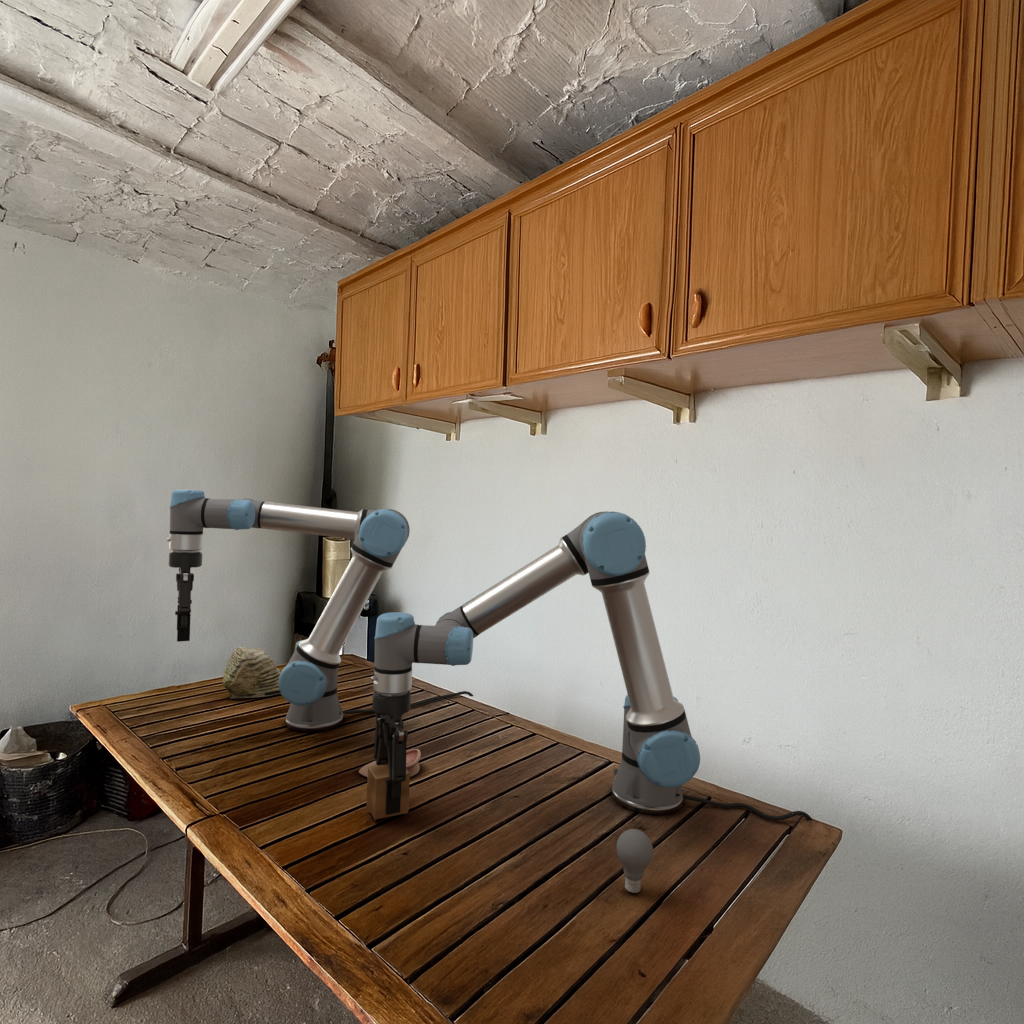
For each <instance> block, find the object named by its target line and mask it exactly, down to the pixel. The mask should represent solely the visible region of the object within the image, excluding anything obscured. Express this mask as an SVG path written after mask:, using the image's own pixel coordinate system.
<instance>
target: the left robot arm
mask: <svg viewBox="0 0 1024 1024" xmlns="http://www.w3.org/2000/svg"><path fill="white" fill-rule="evenodd" d="M170 495H171V496H170V505H169V537H167V538H166V542H169V545H168V546H169V547H168V548H169V550H170V551H169V553H168V566H169V567H170V568H174V569H177V568H178V573H176V574H175V581H176V591H177V592H178V593H177V594H178V596H177V609H176V610H175V612H174V615H175V616H176V633H177V634H176V642H178V643H179V642H191V641H190V640H191V613H192V608H191V605H192V604H193V599H192V591H193V590H194V588H193V587H194V582H195V574H194V573H192V572H191V569H192V568H200V567H202V565H203V552H202V550H203V549H204V529H221V530H222V529H223V530H234V531H238V530H241V531H242V530H250V529H263V530H271V531H278V532H279V531H281V532H289V533H298V534H306V535H315V536H323V537H331V538H339V539H350V540H354V541H353V543H352V544H351V546H350V551H351V556H352V557H351V559H350V561H349V562H348V564H347V566H346V568H345V570H344V572H343V574H342V576H341V577H340V579H339V581H338V583H337V585H336V586H335V589H333V590H334V591H333V592H332V594H331V596H330V598H329V600H328V602H327V604H326V605H325V607H324V608H323V611H322V613H321V615H320V617H318V620H317V622H316V624H315V626H314V628H313V629H312V631H311V633H310V634H309V637H308V638H307V639H303V640H302V639H301V640H298V641H297V642H296V643H295V648H294V652H293V654H292V655H291V657H290V659H289V660H288V663H287V665H285V666H284V667H283V668H282V669H281V670H280V672H281V673H280V677H279V681H278V686H279V690H280V695H281V696H282V697H283V699H284V701H287V702H288V703H289V708H288V711H287V713H286V715H285V726H286V728H287V729H289V730H291V731H294V732H295V731H296V732H301V733H316V732H325V731H329V730H332V729H335V728H337V727H339V726H340V725H342V723H343V722H344V715H350V714H351V715H352V714H369V713H375V712H374V711H373V708H369V709H367V708H366V709H350V710H343V709H342V706H341V702H340V699H339V695H338V682H339V681H338V680H339V678H338V677H339V666H340V664H341V662H342V659H341V656H340V652H341V650H342V648H343V646H344V645H345V643H346V641H347V639H348V637H349V635H350V634H351V631H352V630H353V628H354V626H355V624H356V622H357V620H358V618H359V616H360V615H361V613H362V611H363V610H364V607H365V605H366V604H367V602H368V600H369V598H370V596H371V595H372V592H373V591H374V589H375V587H376V585H377V583H378V581H379V580H380V578H381V576H382V574H383V572H385V571H389V570H391V569H392V568H393V566H394V564H395V562H396V561H397V558H398V556H399V555H400V553H401V551H402V549H403V548H404V546H405V545H406V543H407V542H408V539H409V537H410V529H411V528H410V525H409V521H408V519H407V518H406V516H405V515H404V514H403V513H402V512H400V511H398V510H395V509H391V508H384V509H383V508H381V509H365V508H362V509H360V510H359V511H352V510H343V509H342V510H341V509H333V508H326V507H316V506H308V505H299V504H291V503H290V504H289V503H283V502H273V501H263V500H258V499H257V500H256V499H252V498H241V499H240V498H208V497H206V496H205V491H203V490H200V489H174V490H173V491H172V492H171V494H170ZM461 695H467V696H469V697H474V694H473V693H471V691H467V690H463V691H458V692H455V693H448V694H443V695H438V696H435V697H431V698H428V699H425V700H421V701H418V702H414V703H413V702H412V703H411V706H410V708H414V707H418V706H421V705H425V704H427V703H431V702H434V701H438V700H443V699H446V698H453V697H458V696H461Z"/></svg>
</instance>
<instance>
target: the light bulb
mask: <svg viewBox="0 0 1024 1024" xmlns="http://www.w3.org/2000/svg"><path fill="white" fill-rule="evenodd" d="M615 849H616V854H617V857H618V859H619V861H620V863H621V865H622V867H623V873H624V874H623V875H624V876H625V878H624V888H625V890H627V891H628V892H630V893H634V894H635V893H639V892H640V891H641V889H642V887H641V886H642V879H643V877H644V875H645V871H646V868H647V867H648V866H649V864H650V863H651V861H652V859H653V855H654V847H653V843H652V841H651V838H649V836H648V835H647V834H646V833H645V832H643V831H642V830H641V829H636V828H629V829H627V830H625V831H623V832H622V833H621V834H620V835H619V837H618V839H617V841H616V847H615Z"/></svg>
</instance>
